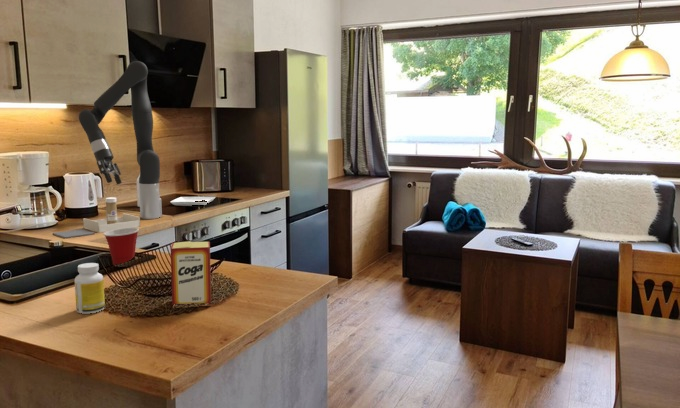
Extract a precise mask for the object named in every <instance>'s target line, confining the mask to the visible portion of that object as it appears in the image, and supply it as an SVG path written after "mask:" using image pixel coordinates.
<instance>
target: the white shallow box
mask: <svg viewBox="0 0 680 408" xmlns="http://www.w3.org/2000/svg"><path fill="white" fill-rule="evenodd" d="M122 215H123V216H117V223H114V224H107V220H106V218H101V219H95V220H93V219H89V218H82V220H83V221H82V222H83V224H82V225H83V229H84V230H87V231H90V232H94V233H99V234H100V233H105V232H107V231H111V230H116V229H124V228H140V227H141V216H137V215H133V214H130V213H129V214H128V213H124V212H123V213H122Z"/></svg>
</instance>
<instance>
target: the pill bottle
mask: <svg viewBox="0 0 680 408" xmlns="http://www.w3.org/2000/svg"><path fill="white" fill-rule="evenodd" d="M99 266H100V265H99V263H98V262H97V263H96V262H86V263H81V264H78V266H77V272H78V273H79V274H77V275H76V276H75V278H74V292H75V293H74V294H75V307H76V312H77V313H79V314H81V313H82V315H89V314H90V313H92V314H97V313H100V312H102V311H103V310H104V309H105V308H106V303H105V301H106V300H105V285H104V284H105V283H104V276H103V274H102V273H99V272H98V271H99V270H100V267H99ZM104 307H105V308H104ZM101 310H102V311H101ZM99 311H100V312H99ZM96 312H97V313H96ZM90 315H91V314H90Z"/></svg>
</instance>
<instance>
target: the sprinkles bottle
mask: <svg viewBox="0 0 680 408" xmlns="http://www.w3.org/2000/svg"><path fill="white" fill-rule="evenodd" d="M104 199H105V200H104V201H105V213H106V215H105V216H106V218H105V219H106V220H107V224H114V223H117V217H118V213H117V212H118V209H117V197H111V196H110V197H105V198H104Z"/></svg>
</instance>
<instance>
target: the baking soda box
mask: <svg viewBox="0 0 680 408" xmlns="http://www.w3.org/2000/svg"><path fill="white" fill-rule="evenodd" d="M170 269H171V271H170V272H171V273H170V274H171V300H172V301H171V302H172V303H171V304H172V305H174V304H175V305H176V304H191V303H211V304H212V288H211V287H212V281H211V242H210V241H190V240H189V241H181V242H179V241H178V242H172V243H171V246H170Z"/></svg>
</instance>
